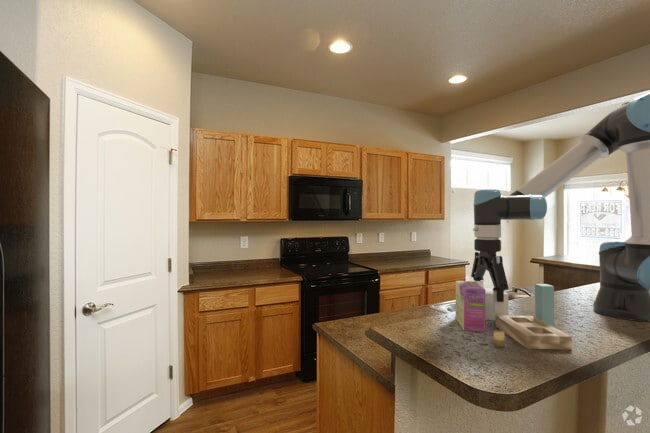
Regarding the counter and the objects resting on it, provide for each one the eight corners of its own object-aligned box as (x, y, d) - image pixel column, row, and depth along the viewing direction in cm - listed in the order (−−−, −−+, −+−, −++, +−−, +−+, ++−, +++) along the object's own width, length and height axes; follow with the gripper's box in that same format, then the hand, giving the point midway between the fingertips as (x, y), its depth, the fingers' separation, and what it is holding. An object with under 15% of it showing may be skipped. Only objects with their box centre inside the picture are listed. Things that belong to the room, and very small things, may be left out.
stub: (502, 344, 77) (501, 330, 77) (507, 348, 75) (506, 333, 75) (491, 344, 77) (491, 330, 77) (496, 348, 75) (496, 333, 75)
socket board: (531, 326, 90) (531, 315, 90) (571, 349, 74) (571, 336, 74) (495, 325, 91) (495, 315, 91) (527, 348, 75) (527, 335, 75)
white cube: (495, 312, 103) (495, 288, 103) (508, 320, 95) (508, 293, 95) (470, 312, 104) (470, 287, 104) (481, 320, 96) (481, 293, 96)
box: (486, 332, 86) (485, 288, 86) (463, 330, 87) (463, 287, 87) (475, 319, 96) (474, 281, 96) (455, 318, 97) (455, 280, 97)
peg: (546, 325, 90) (546, 283, 90) (554, 329, 87) (553, 286, 87) (535, 325, 90) (534, 283, 91) (542, 329, 87) (541, 286, 87)
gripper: (460, 236, 112) (461, 296, 112) (493, 241, 87) (494, 318, 87) (482, 236, 112) (483, 296, 112) (521, 241, 87) (522, 318, 87)
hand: (488, 306), depth 99 cm, fingers open, 13 cm apart
